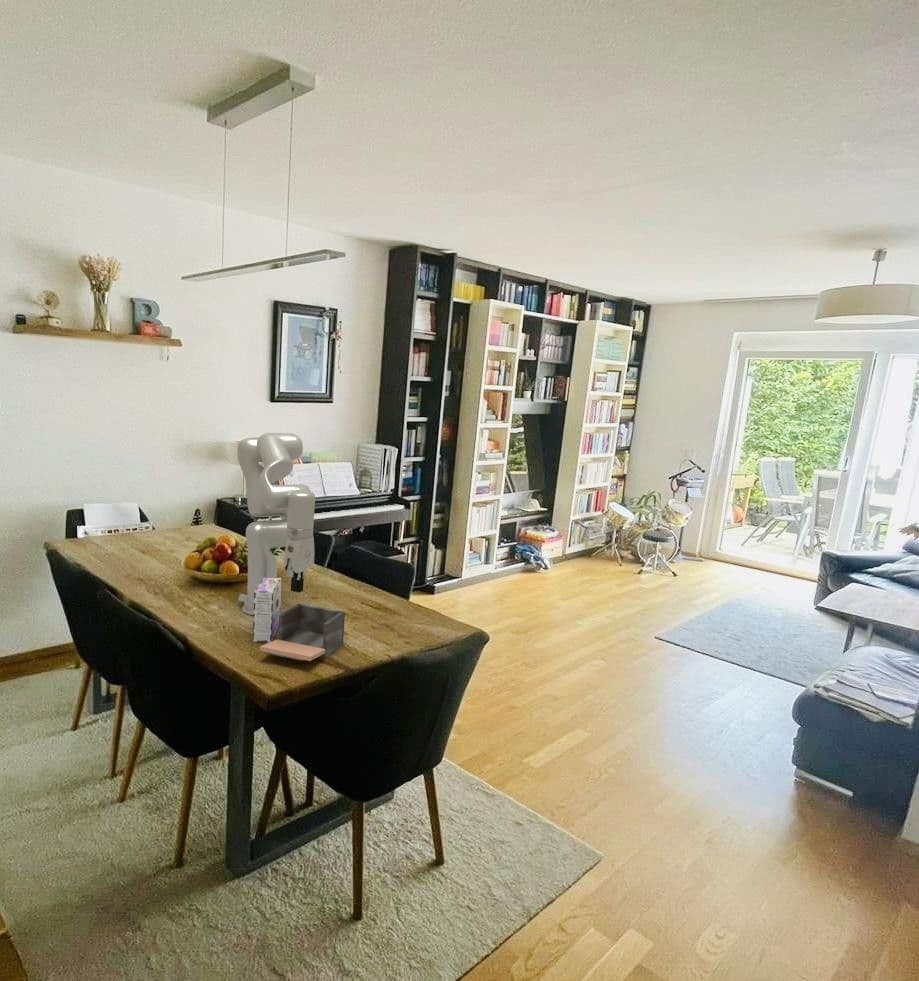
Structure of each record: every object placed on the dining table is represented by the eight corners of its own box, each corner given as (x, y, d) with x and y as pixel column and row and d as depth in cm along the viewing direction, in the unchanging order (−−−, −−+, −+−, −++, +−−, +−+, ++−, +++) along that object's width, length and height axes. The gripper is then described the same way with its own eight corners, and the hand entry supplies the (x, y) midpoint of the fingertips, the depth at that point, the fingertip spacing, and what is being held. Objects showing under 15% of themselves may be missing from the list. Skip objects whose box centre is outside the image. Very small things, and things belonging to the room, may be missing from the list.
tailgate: (276, 645, 183) (259, 653, 175) (276, 639, 183) (259, 646, 175) (324, 655, 179) (309, 663, 171) (325, 649, 179) (310, 656, 171)
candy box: (262, 624, 201) (263, 576, 198) (280, 625, 202) (282, 577, 199) (252, 642, 188) (253, 590, 185) (271, 642, 188) (273, 591, 185)
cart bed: (277, 648, 185) (278, 615, 183) (297, 634, 195) (298, 603, 194) (326, 658, 181) (327, 624, 179) (343, 643, 191) (344, 611, 190)
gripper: (297, 540, 172) (294, 601, 176) (323, 528, 186) (320, 585, 190) (274, 535, 174) (271, 596, 178) (302, 524, 188) (299, 581, 192)
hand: (296, 590), depth 184 cm, fingers closed
